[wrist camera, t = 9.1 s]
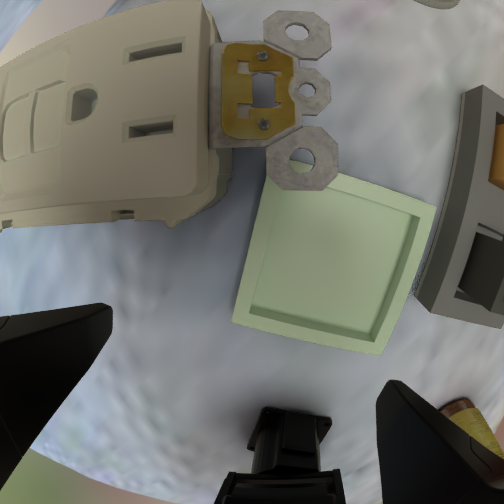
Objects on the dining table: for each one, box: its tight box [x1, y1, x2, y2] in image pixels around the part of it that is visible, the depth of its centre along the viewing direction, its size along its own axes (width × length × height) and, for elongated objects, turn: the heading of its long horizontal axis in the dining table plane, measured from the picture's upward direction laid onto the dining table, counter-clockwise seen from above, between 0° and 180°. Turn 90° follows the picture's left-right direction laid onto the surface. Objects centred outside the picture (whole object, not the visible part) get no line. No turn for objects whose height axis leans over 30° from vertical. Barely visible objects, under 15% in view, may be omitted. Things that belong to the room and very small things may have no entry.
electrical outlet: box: [0, 0, 338, 232], centre depth 15 cm, size 12×28×10 cm, turn 91°
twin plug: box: [458, 232, 504, 316], centre depth 14 cm, size 4×4×7 cm
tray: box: [231, 159, 437, 356], centre depth 18 cm, size 11×11×2 cm
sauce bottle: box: [440, 399, 504, 459], centre depth 12 cm, size 7×6×20 cm
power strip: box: [414, 85, 504, 329], centre depth 15 cm, size 16×8×3 cm, turn 167°
